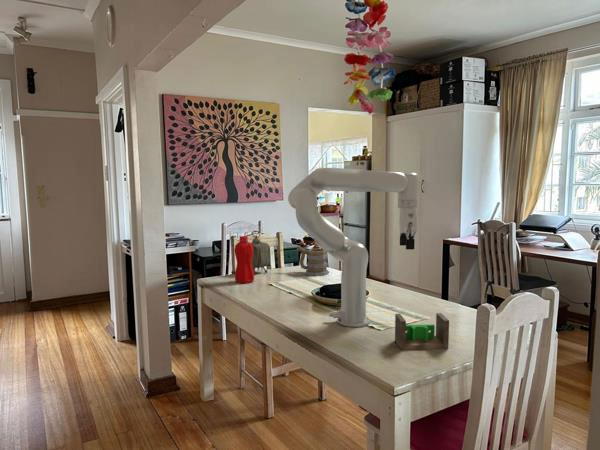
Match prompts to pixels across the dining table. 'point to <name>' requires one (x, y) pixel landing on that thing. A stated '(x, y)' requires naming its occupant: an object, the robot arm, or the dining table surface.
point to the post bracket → (433, 343)
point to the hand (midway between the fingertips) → (406, 247)
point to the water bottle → (244, 261)
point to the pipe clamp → (420, 332)
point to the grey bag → (260, 253)
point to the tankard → (314, 261)
